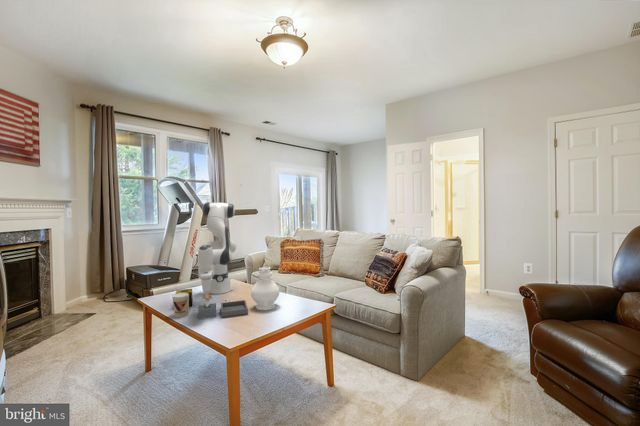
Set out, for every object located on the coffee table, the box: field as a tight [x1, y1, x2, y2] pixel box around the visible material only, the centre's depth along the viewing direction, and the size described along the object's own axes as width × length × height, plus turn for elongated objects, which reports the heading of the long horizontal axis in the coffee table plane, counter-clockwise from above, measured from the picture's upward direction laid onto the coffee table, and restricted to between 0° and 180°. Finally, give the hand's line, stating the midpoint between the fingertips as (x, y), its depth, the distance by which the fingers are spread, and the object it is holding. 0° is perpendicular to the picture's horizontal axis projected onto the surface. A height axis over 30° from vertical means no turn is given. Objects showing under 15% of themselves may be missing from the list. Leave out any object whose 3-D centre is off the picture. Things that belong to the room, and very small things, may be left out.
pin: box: [201, 293, 212, 308], centre depth 183 cm, size 2×5×12 cm, turn 109°
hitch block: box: [197, 302, 217, 320], centre depth 183 cm, size 10×10×5 cm
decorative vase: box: [250, 266, 280, 311], centre depth 195 cm, size 18×18×25 cm
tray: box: [220, 299, 249, 319], centre depth 188 cm, size 18×15×4 cm
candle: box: [174, 288, 194, 308], centre depth 201 cm, size 10×10×10 cm
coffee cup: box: [172, 293, 190, 318], centre depth 185 cm, size 9×9×12 cm
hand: (207, 295), depth 183 cm, fingers open, 8 cm apart
